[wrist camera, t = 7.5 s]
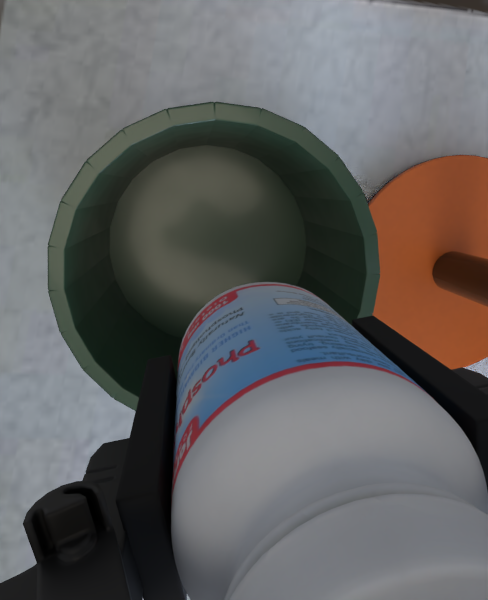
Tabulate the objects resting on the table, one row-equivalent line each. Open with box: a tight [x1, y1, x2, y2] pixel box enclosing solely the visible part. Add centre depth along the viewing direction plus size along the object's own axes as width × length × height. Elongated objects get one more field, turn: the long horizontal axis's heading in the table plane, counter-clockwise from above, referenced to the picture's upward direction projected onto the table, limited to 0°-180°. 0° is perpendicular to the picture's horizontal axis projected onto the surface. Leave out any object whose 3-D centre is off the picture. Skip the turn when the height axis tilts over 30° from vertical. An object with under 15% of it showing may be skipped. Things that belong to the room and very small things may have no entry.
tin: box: [48, 102, 380, 411], centre depth 28 cm, size 17×17×12 cm
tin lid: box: [368, 155, 488, 370], centre depth 32 cm, size 18×18×10 cm
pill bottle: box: [171, 282, 488, 600], centre depth 10 cm, size 6×6×11 cm
